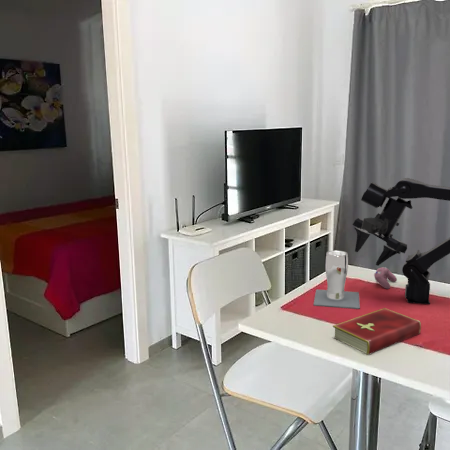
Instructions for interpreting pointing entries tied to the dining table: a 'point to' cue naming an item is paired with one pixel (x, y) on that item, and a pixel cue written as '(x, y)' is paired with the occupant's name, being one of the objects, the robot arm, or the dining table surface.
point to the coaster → (348, 302)
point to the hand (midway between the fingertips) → (366, 258)
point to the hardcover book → (377, 330)
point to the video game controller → (384, 277)
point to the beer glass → (336, 274)
